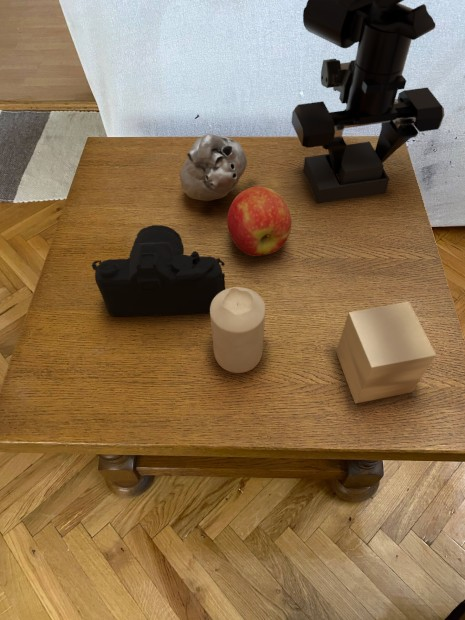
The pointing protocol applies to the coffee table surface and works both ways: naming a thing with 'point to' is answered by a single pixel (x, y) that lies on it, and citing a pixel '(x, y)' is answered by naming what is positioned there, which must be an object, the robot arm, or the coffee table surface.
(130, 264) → the film camera
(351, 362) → the beige wooden block
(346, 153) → the black block
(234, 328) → the candle
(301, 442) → the coffee table surface
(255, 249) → the apple
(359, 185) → the black tray
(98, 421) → the coffee table surface
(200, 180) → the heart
